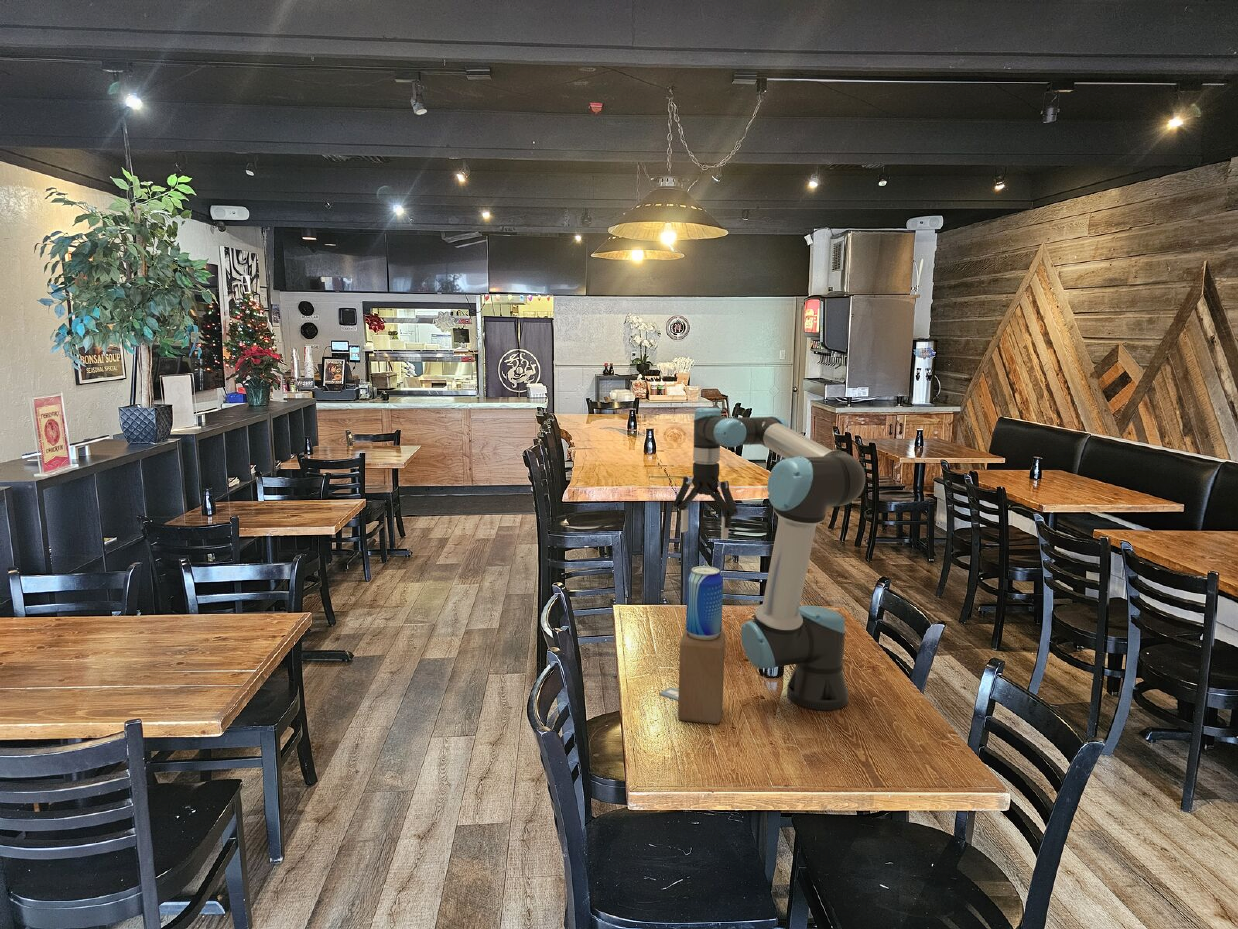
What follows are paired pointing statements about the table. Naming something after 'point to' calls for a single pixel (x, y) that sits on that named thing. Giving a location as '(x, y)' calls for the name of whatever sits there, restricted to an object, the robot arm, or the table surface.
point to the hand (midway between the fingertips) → (704, 535)
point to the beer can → (704, 603)
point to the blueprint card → (670, 693)
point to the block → (701, 679)
